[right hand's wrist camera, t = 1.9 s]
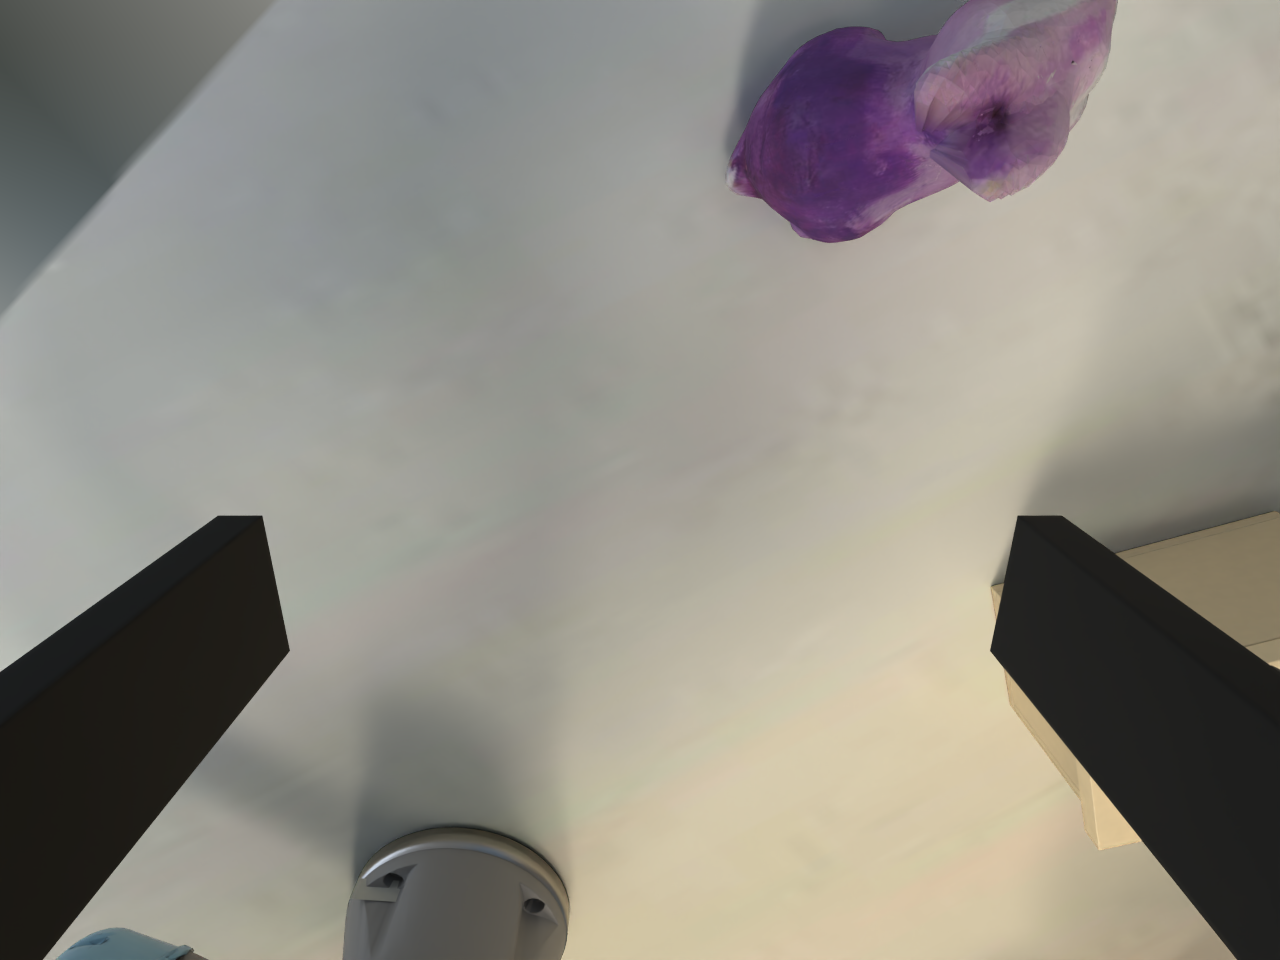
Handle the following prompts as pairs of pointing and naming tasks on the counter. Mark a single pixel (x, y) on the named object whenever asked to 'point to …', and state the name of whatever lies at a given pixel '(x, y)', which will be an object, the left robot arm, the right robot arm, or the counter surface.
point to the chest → (1192, 599)
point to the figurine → (920, 113)
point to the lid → (1098, 809)
